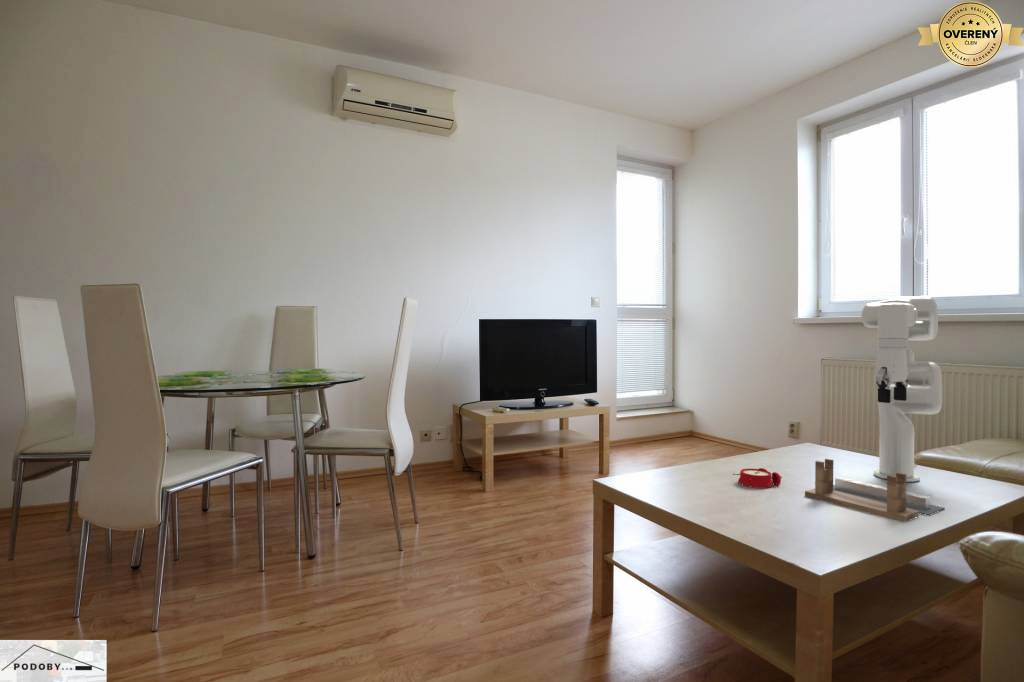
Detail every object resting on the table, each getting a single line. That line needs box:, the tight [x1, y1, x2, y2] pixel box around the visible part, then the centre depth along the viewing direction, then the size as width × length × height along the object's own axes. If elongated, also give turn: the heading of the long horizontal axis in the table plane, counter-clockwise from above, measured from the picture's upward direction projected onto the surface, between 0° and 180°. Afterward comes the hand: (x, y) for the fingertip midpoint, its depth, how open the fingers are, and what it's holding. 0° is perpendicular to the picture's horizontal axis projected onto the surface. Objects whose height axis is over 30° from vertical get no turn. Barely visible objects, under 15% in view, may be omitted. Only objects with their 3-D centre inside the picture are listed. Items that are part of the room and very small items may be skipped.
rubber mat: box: [833, 484, 945, 516], centre depth 157 cm, size 10×28×1 cm, turn 31°
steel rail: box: [834, 476, 932, 510], centre depth 157 cm, size 3×24×3 cm, turn 31°
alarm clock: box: [732, 468, 783, 489], centre depth 174 cm, size 10×6×15 cm
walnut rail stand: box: [804, 458, 920, 523], centre depth 151 cm, size 8×26×11 cm, turn 31°
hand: (892, 401), depth 160 cm, fingers open, 9 cm apart
